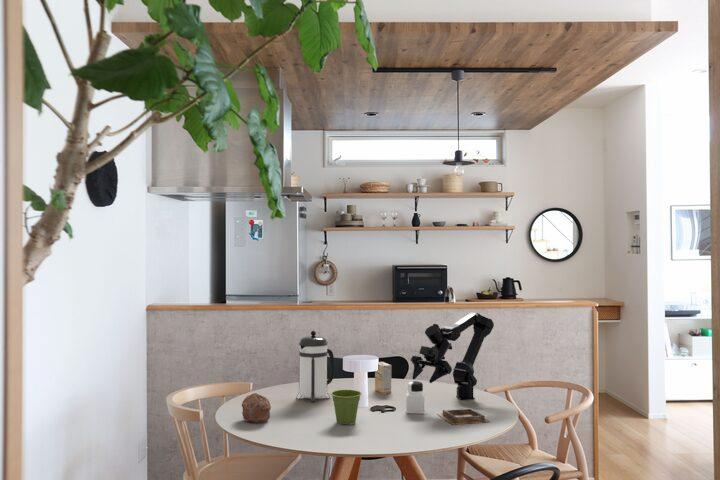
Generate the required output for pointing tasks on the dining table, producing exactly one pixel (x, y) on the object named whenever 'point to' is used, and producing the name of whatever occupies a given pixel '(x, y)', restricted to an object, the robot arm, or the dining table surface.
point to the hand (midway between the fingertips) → (421, 380)
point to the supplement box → (383, 378)
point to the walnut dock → (463, 416)
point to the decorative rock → (256, 408)
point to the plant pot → (346, 405)
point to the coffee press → (314, 367)
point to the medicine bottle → (415, 398)
